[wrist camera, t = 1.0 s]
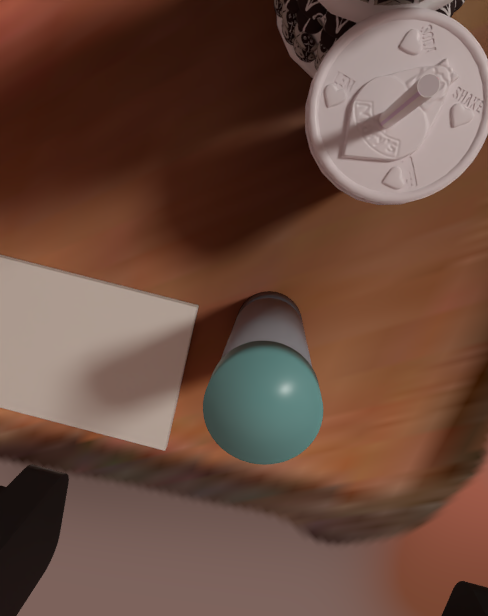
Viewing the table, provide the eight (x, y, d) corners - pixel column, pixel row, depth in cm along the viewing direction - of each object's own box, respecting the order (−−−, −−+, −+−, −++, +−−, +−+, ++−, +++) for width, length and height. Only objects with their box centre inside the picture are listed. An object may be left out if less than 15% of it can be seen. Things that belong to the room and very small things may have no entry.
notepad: (-34, 246, 27) (-42, 247, 27) (198, 305, 27) (196, 307, 26) (-47, 390, 30) (-54, 394, 29) (167, 445, 29) (164, 451, 29)
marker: (244, 282, 26) (217, 340, 15) (311, 299, 26) (338, 371, 15) (228, 346, 27) (191, 447, 16) (293, 362, 27) (304, 477, 16)
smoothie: (272, 139, 25) (265, 52, 11) (367, 58, 23) (492, -154, 10) (340, 229, 25) (412, 253, 12) (435, 156, 24) (639, 87, 10)
